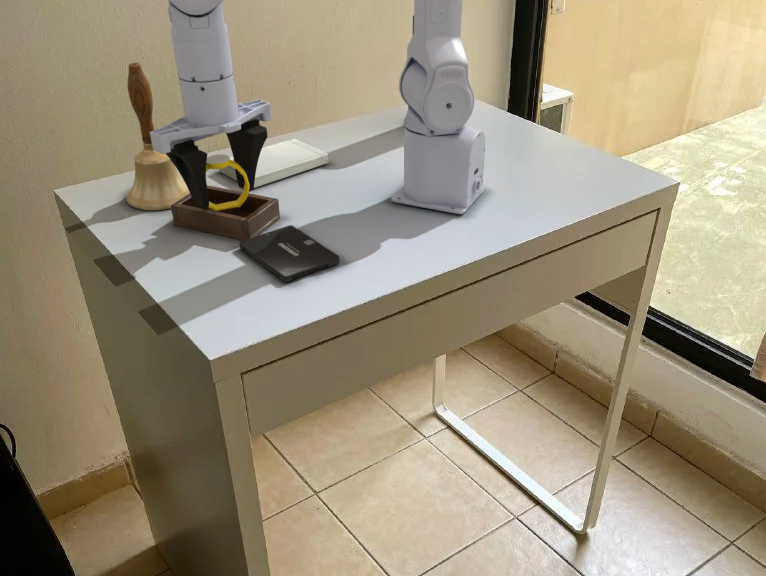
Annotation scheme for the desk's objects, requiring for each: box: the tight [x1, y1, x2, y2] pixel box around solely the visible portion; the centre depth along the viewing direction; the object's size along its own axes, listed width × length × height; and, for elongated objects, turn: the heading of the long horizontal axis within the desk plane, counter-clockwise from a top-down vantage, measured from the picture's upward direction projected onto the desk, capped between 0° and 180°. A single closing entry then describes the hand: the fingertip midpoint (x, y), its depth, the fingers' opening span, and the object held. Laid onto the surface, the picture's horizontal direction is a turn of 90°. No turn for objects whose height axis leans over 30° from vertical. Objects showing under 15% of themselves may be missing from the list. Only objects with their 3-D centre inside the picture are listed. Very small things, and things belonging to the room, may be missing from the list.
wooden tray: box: [170, 184, 281, 241], centre depth 91 cm, size 11×7×2 cm, turn 65°
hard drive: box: [218, 138, 330, 189], centre depth 104 cm, size 2×8×12 cm
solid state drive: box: [238, 225, 341, 283], centre depth 84 cm, size 7×10×1 cm
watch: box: [206, 153, 250, 211], centre depth 89 cm, size 6×3×6 cm, turn 106°
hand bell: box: [125, 62, 190, 211], centre depth 92 cm, size 8×8×16 cm
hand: (224, 196), depth 90 cm, fingers closed on watch, 6 cm apart
